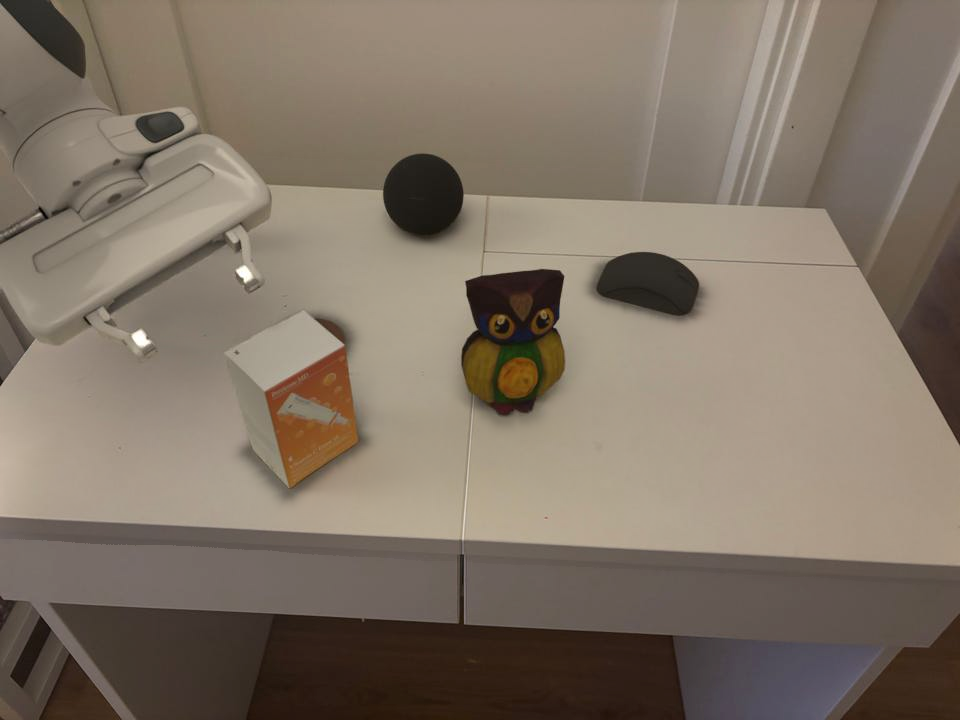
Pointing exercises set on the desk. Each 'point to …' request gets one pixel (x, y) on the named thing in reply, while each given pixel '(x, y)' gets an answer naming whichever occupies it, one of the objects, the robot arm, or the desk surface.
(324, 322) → the coaster
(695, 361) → the desk surface
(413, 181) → the speaker
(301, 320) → the small box
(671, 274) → the computer mouse
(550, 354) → the figurine
